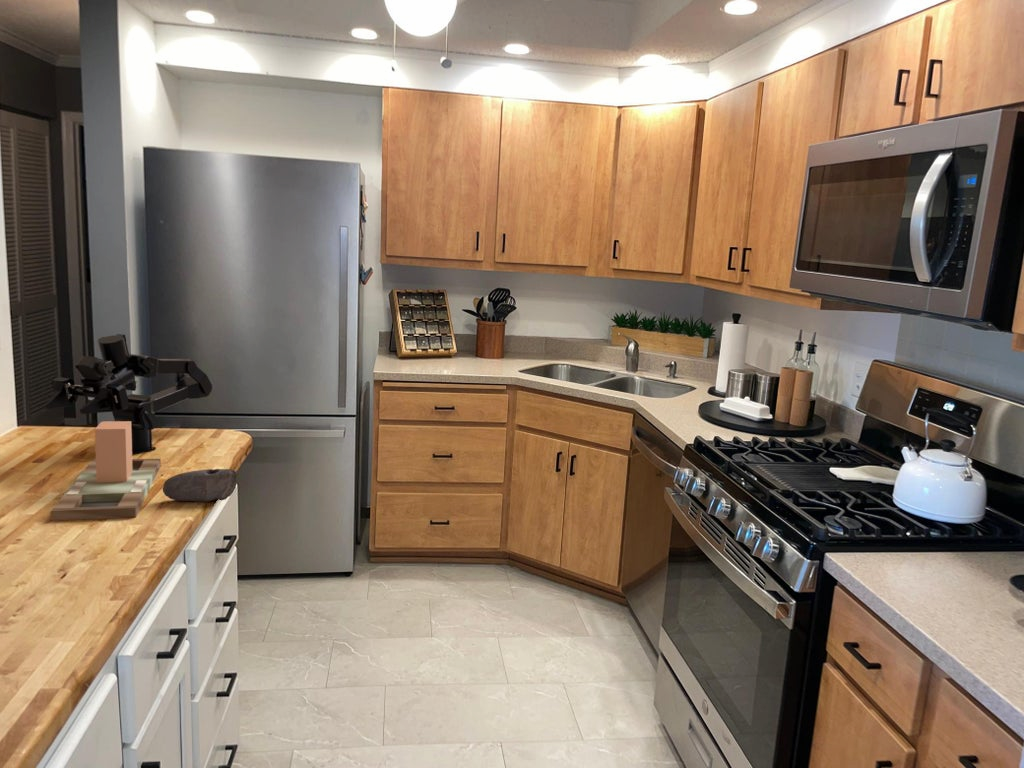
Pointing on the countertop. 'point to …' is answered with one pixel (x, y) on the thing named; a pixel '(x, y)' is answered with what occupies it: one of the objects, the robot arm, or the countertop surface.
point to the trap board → (106, 494)
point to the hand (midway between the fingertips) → (63, 409)
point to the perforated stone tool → (201, 485)
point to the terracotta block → (113, 451)
